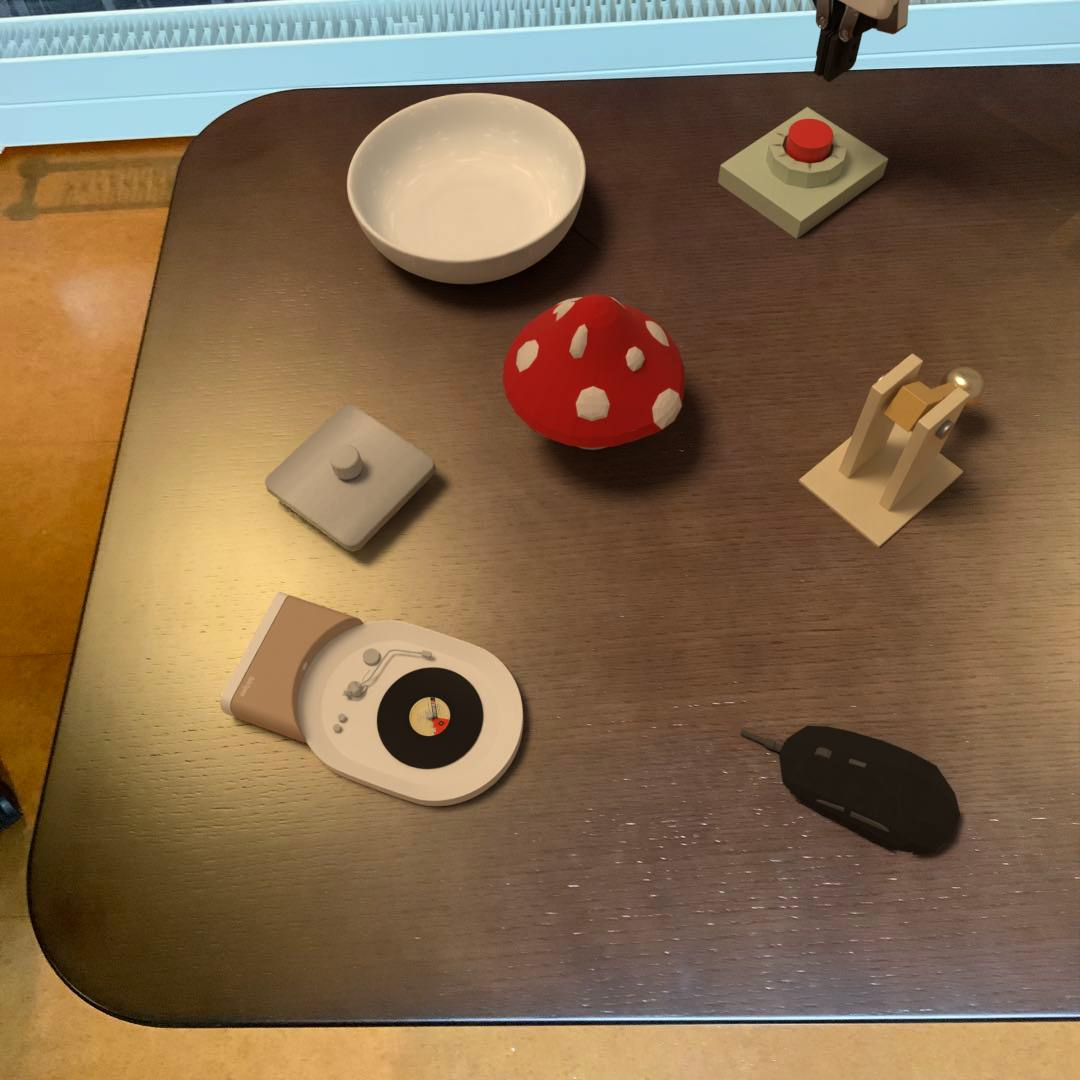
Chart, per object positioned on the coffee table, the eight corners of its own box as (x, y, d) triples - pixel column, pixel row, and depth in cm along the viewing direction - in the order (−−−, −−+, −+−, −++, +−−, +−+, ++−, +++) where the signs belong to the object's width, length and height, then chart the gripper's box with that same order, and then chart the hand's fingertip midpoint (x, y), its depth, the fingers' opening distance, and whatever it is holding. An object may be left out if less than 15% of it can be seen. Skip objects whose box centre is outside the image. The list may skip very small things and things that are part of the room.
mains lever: (941, 389, 83) (965, 355, 81) (974, 413, 81) (999, 380, 79) (874, 413, 74) (899, 377, 72) (910, 441, 73) (937, 404, 71)
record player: (286, 573, 76) (546, 659, 72) (296, 592, 79) (546, 676, 75) (208, 718, 71) (484, 819, 67) (221, 733, 73) (486, 831, 70)
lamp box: (803, 125, 103) (811, 90, 100) (882, 177, 99) (893, 142, 96) (717, 183, 99) (722, 148, 96) (796, 239, 95) (805, 205, 92)
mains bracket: (879, 418, 85) (921, 319, 75) (959, 479, 82) (1014, 385, 72) (796, 487, 82) (827, 394, 72) (875, 554, 79) (920, 466, 69)
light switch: (358, 567, 80) (346, 534, 75) (268, 501, 83) (251, 465, 79) (443, 480, 83) (435, 444, 79) (353, 420, 87) (341, 382, 82)
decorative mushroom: (502, 366, 89) (490, 234, 76) (664, 354, 89) (679, 220, 76) (512, 507, 82) (501, 388, 69) (687, 494, 82) (709, 372, 69)
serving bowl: (331, 191, 100) (315, 131, 94) (532, 129, 104) (530, 67, 98) (403, 345, 90) (391, 289, 84) (623, 271, 94) (626, 212, 88)
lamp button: (805, 128, 97) (809, 112, 96) (838, 149, 96) (842, 133, 94) (776, 148, 96) (779, 132, 95) (809, 170, 95) (813, 154, 93)
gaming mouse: (757, 694, 74) (766, 672, 70) (965, 788, 70) (986, 770, 67) (723, 772, 71) (730, 753, 68) (937, 874, 67) (957, 860, 64)
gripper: (1006, -145, 71) (932, 91, 87) (836, -220, 77) (796, 13, 93) (935, -100, 69) (872, 134, 85) (766, -181, 75) (737, 51, 91)
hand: (833, 70), depth 89 cm, fingers closed
